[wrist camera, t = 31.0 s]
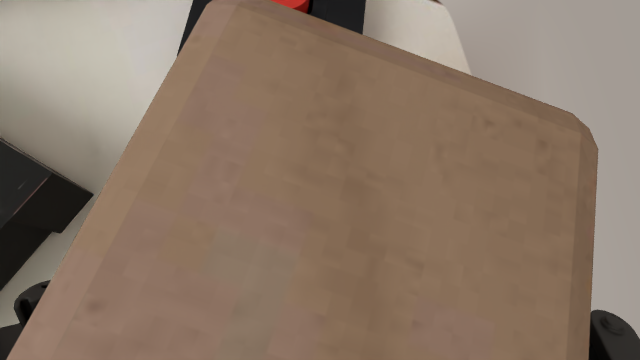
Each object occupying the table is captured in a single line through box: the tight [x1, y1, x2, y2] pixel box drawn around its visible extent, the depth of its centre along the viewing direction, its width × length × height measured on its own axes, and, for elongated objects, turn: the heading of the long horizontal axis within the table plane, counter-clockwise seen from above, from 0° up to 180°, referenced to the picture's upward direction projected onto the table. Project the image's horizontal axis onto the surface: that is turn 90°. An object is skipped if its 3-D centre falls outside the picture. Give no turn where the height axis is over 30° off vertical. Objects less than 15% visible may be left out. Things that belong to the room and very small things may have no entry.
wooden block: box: [6, 0, 598, 360], centre depth 16 cm, size 10×10×20 cm
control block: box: [177, 0, 366, 57], centre depth 29 cm, size 14×11×4 cm
